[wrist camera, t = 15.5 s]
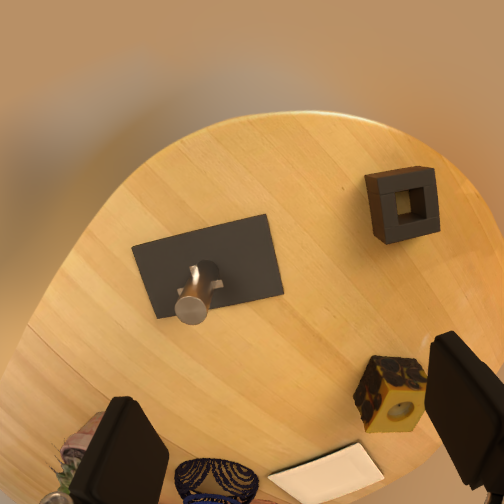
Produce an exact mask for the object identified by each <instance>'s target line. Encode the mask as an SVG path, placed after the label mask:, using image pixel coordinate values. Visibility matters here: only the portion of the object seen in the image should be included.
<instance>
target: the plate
mask: <svg viewBox="0 0 504 504" xmlns="http://www.w3.org/2000/svg"><path fill="white" fill-rule="evenodd" d="M267 478H269V479H270V480H271V481H272V482H274V483H275V484H276V485H278V486H279V487H280V488H282V489H283V490H284V491H286V492H287V493H288V494H290V495H291V496H292V497H294V498H295V499H297V500H298V501H299V502H301V503H302V504H320V503H323V502H326V501H329V500H332V499H335V498H337V497H340V496H343V495H346V494H349V493H351V492H354V491H356V490H359V489H361V488H364V487H366V486H369V485H371V484H374V483H376V482H378V481H380V480H383V479H384V476H383V475H382V473H381V472H380V471H379V469H378V468H377V467H376V465H375V464H374V462H373V461H372V460H371V458H370V457H369V455H368V454H367V453H366V451H365V450H364V448H363V447H362V446H361V444H360V443H355V444H353V445H350V446H348V447H346V448H344V449H341V450H339V451H336V452H334V453H331V454H329V455H326V456H324V457H321V458H319V459H316V460H313V461H311V462H308V463H305V464H302V465H300V466H297V467H294V468H291V469H288V470H285V471H282V472H278V473H275V474H272V475H269V476H268V477H267Z"/></svg>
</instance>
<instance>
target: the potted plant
mask: <svg viewBox="0 0 504 504" xmlns="http://www.w3.org/2000/svg"><path fill="white" fill-rule="evenodd" d="M104 413H105V412H98V413H96V414H95V415H94V416H93V417H92V418H91V419H90V420H89V421H88V422H87V423H86V424H85V425H84V426H83V427H82V428H81V429H80V430H79V431H78V432H77V433H74V434H72V435H71V436H69V437H68V439H67V440H66V442H64V445H63V446H62V448H61V449H60V453H61V457H62V459H63V461H64V462H65V464H63V463H62V462H60V461H59V460H58V461H59V462H60V463H61V467H62V469H63V473H58V472H56V471H54V472H55V473H56V476H57V478H58V480H59V482H60V485H61V486H60V487H59V488H58V491H57V492H64V493H66V494H67V495H69V494H70V491H69V490H68V488H69V485H70V483H71V481H72V479H73V477H74V475H75V473H76V470H77V468H78V466H79V464H80V462H81V460H82V458H83V456H84V454H85V452H86V449H87V447H88V445H89V443H90V441H91V439H92V437H93V435H94V433H95V431H96V429H97V427H98V425H99V423H100V421H101V419H102V417H103V415H104ZM55 448H56V447H55ZM56 449H57V448H56ZM57 450H58V449H57ZM58 451H59V450H58ZM55 457H56V456H55ZM46 463H47V462H46ZM49 467H50V466H49ZM50 468H51V467H50ZM51 469H53V468H51Z"/></svg>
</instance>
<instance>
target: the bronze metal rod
mask: <svg viewBox="0 0 504 504" xmlns="http://www.w3.org/2000/svg"><path fill="white" fill-rule="evenodd" d="M189 268H190V271H191V275H190V277H189V279H188V281H187V283H186V285H185V287H181V288H177V291H178V294H179V296H180V297H179V299H178V301H177V302H176V305H175V313H176V315H177V317H178V318H179V319H180V320H181V321H182V322H183V323H185V324H189V325H197V324H200V323H201V322H203V321H204V320H205V318H206V316H207V313H208V309H209V308H210V302H211V299H212V296H213V292H214V289H216V288H220V287H224V285H223V281H222V279H219V280H217V279H218V276H219V269H218V267H217V265H216V264H215V263H213V262H212V261H209V260H202V261H200V262H198V263H197V264H196V265H193V266H190V267H189Z"/></svg>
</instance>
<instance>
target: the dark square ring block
mask: <svg viewBox="0 0 504 504" xmlns="http://www.w3.org/2000/svg"><path fill="white" fill-rule="evenodd" d="M365 181H366V186H367V190H368V191H367V193H368V199H369V205H370V212H371V219H372V226H373V234H374V236H376V237H377V238H378V239H380V240H381V241H382V242H383V243H385V244H386V245H387V244H391V243H395V242H399V241H403V240H407V239H411V238H415V237H419V236H423V235H427V234H431V233H435V232H439V231H440V218H439V205H438V195H437V186H436V178H435V171H434V168H428V167H421V166H414V167H408V168H402V169H397V170H391V171H385V172H380V173H374V174H369V175H365ZM404 190H409V197H410V205H411V212H409V213H405V214H400V215H398V214H397V206H396V198H395V193H394V192H399V191H404Z"/></svg>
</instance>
